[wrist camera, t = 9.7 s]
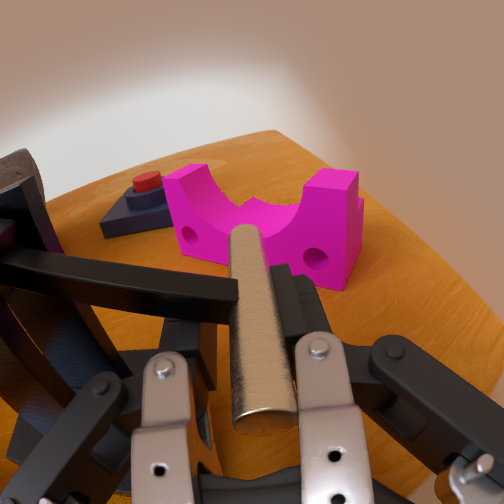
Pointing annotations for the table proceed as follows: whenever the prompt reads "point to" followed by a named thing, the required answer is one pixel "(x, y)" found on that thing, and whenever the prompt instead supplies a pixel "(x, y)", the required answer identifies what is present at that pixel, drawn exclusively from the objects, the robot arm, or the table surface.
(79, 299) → the lever
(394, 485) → the table surface
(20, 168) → the bowl
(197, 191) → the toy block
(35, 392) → the bracket
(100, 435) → the robot arm
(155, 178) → the button
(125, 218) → the button box
